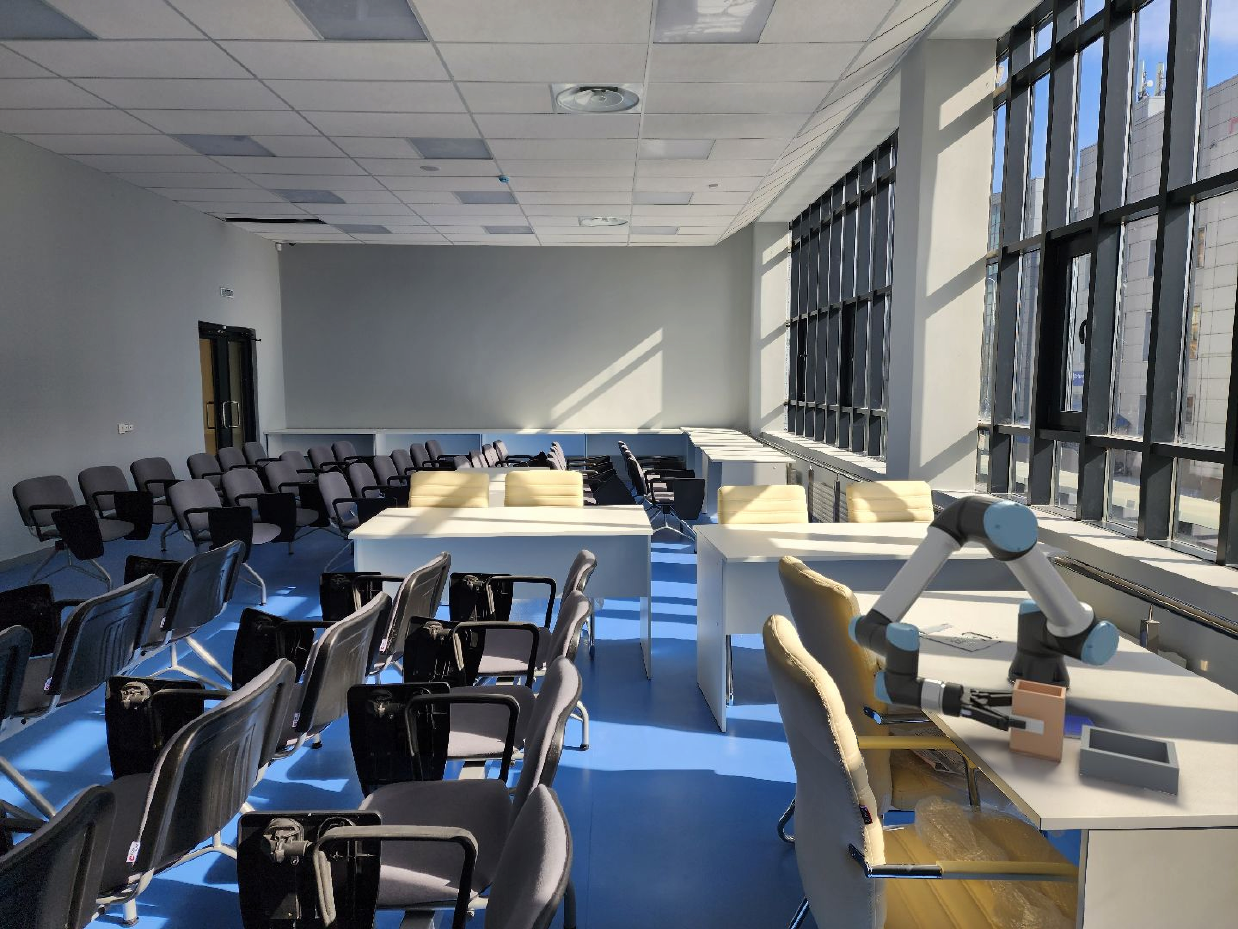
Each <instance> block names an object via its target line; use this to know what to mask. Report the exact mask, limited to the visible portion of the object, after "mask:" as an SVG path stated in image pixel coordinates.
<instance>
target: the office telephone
mask: <svg viewBox="0 0 1238 929" xmlns="http://www.w3.org/2000/svg"><path fill="white" fill-rule="evenodd" d="M952 627H954V625H952V624H951V623H941V624H937V625H932V626H929V627H923V628H920V629H919V628H918V629H919V632H920V633H923V634H926V635H928V634H930V633H933V632H940V631H942V630H945V629H948V628H952ZM973 637H974V638H978V637H977V636H973ZM998 637H999V636H996V638H998ZM952 638H957V637H951V638H950V639H951V640H950V641H951V642H955V643H957V644H961V643H963V642H966V641H969V640H966V639H965V641H964V640H959V639H962V637H961V638H959V639H954V640H952ZM967 638H968V637H967ZM945 640H949V639H945ZM975 641H976V640H975ZM968 643H971V644H973V643H974V644H978V643H975V642H973V643H972V642H968ZM968 643H965V644H968ZM969 646H970V645H969Z"/></svg>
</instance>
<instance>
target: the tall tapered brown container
mask: <svg viewBox="0 0 1238 929" xmlns="http://www.w3.org/2000/svg"><path fill="white" fill-rule="evenodd" d="M1012 691H1013V696H1012V706H1011V715H1016V716H1021V717H1026V718H1032V719H1037V720H1042V721H1044V731H1043V734H1039V733H1034V732H1029V731H1024V730H1019V729H1014V728H1010V735H1009V736H1010V737H1009V752H1012V753H1016V754H1021V755H1024V754H1026V756H1029V755H1030V757H1035V758H1039V759H1043V760H1048V761H1054V762H1059V763H1061V762H1062V758H1063V757H1062V756H1063V747H1064V736H1063V735H1064V719H1065V715H1066V703H1067V701H1066V700H1067V690H1066V688H1065V687H1059V686H1054V685H1048V684H1042V683H1036V682H1030V681H1024V680H1019V679H1016V682H1015V683H1014V684H1013V687H1012Z"/></svg>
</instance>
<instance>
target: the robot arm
mask: <svg viewBox="0 0 1238 929" xmlns="http://www.w3.org/2000/svg"><path fill="white" fill-rule="evenodd" d="M1038 526H1039V522H1038V519H1037V517H1036V515H1035V513H1034V511H1033V510H1031V509H1030V507H1028V506H1026V505H1025V504H1023V503H1019V502H1016V501H1014V500H1009V499H1008V500H1007V499H998V498H993V497H987V496H984V497H983V496H981V495H966V496H963V497H961V498H959V499H956V500H954V501H953V502H951V503H950V504H948V505H947V506H946V507H945V508H943V510H942V511H940V512H939V513H938V514H937V515H936V516H935V517H934V519H933V520H932V521H931V523H930V524H929V525H928V527H927V528H926V532H927V534H926V536H925V537H924V538H923V540H922V541H921V542H920V543H919V545H918V546H917V548H915V549H914V552H912V554H911V555H910V557H909V558H908V559H907V561H906V562H905V563H904V565H903V566H902V567H901V568H900V570H899V571H898V572H897V574H896V575H895V576H894V578H893V579H892V580H891V582H889V584H888V586H887V587H886V588H885V589H884V591H883V592H882V593H881V594H880V596H879V597H878V599H877V600H876V601H875V602H874V604H873V605H872V606H871V608H870V609H869V610H868V611H867V613H866V614H859V615H856V616H854V617H853V618H852V619H850V622H849V624H848V627H847V632H848V636H849V637H850V638H849V639H851V640H852V641H853V642H854V643H856V644H858V645H859V646H860V647H861V648H865V649H866V650H867V649H868V651H871V652H873V653H875V654H877V655H879V656H881V657H883V658H884V660H885V661H884V669H883V670H882V669H880V670H878V671H877V672H876V674H875V679H874V684H873V694H874V697H875V699H876V700H877V701H879V702H881V703H886V704H889V705H893V706H899V707H903V708H904V707H905V708H909V709H914V710H915V709H916V710H920V711H925V712H926V711H927V712H928V714H930V715H931V714H933V713H934V714H941V713H942V714H944V715H945V716H949V717H955V718H960V717H962V718H965V719H966V718H967V719H970V720H974V721H975V722H978V723H981V724H984V725H986V726H989V727H992V728H994V729H996V730H999V731H1002V732H1009V730H1010V729H1011V728H1014V729H1019V730H1024V731H1029V732H1034V733H1039V734H1043V731H1044V721H1042V720H1037V719H1032V718H1026V717H1021V716H1016V715H1011V714H1012V713H1011V714H1010V715H1007V714H1005V713H1004V712H1000V711H999V710H997V709H995V708H999V707H1001V708H1002V707H1012V696H1013V690H989V689H987V690H986V689H976V688H970V689H969V692H964V689H965V688H964V685H963V684H961V683H957V682H956V683H955V682H949V681H946V683H945V682H944V681H943V680H940V679H934V678H928V677H923V676H919V663H920V661H919V659H920V647H921V641H920V637H919V627H917V626H916V625H914V624H913V623H907V622H902V620H903V619H904V618H905V616H906V615H907V613H908V612H909V611H910V610H911V609H912V608H913V605H914V604H915V603H916V602H917V600H918V599H919V598H920V597H921V595H922V594H923V593H924V591H925V590H926V588H927V587H928V586H929V584H930V583H931V582H932V580H933V579H934V578H935V576H937V574H938V573H939V571H940V570H941V568H943V566H944V564H946V563H947V561H948V560H949V558H950V557H951V556H952V555H953V553H954V552H955V553H956V552H960V550H962V548H963V547H964V546H965V544H967V543H969V542H972V543H976V544H980V545H981V544H982V545H983V546H984V547H985V548H986V550H987V551H988V553H989V554H990V555H991V556H992V558H994V559H995V560H996V562H997V561H998V562H1000V563H1005V564H1006V565H1007V567H1008V568H1009V570H1010V571H1011V572H1012V574H1014V576H1015V577H1016V579H1017V580H1018V581H1019V583H1020V584H1021V585H1022V587H1023V588H1024V590H1025V591H1026V592H1027V593H1028V595H1029V596H1030V597H1031V598H1030V599H1029V598H1028V599H1025V600H1022V601H1021V602H1020V604H1019V605H1018V606H1019V608H1018V613H1017V631H1016V632H1017V635H1016V636H1017V637H1016V651H1015V652H1016V653H1015V654H1014V657H1013V658H1012V661H1011V664H1010V666H1009V669H1008V672H1007V673H1008V674H1007V678H1008V677H1009V679H1010V680H1011V681H1014V682H1016V679H1019V680H1024V681H1030V682H1036V683H1042V684H1048V685H1054V686H1059V687H1065V688H1066V689H1067V688H1068V687H1069V688H1070V687H1071V686H1070V684H1071V678H1070V675H1069V671H1068V668H1067V665H1066V661H1065V656H1066V657H1069V658H1071V659H1074V660H1077V661H1079V662H1082V663H1083V664H1086V665H1091V666H1097V667H1098V666H1102V665H1105V664H1107V663H1109V661H1111V659H1112V658H1113V657H1114V656H1115V655H1116V652H1117V650H1118V647H1119V643H1120V634H1119V630H1118V627H1117V626H1115V625H1114V623H1111V622H1110V621H1108V620H1102V619H1101V618H1100V617H1099V616H1098V615H1097V613H1096V612H1095V611H1094V609H1093V608H1092V607H1091V606H1090V605H1089V604H1088V603H1086V602H1083V601H1079V600H1078V598H1077V596H1076V595H1074V593H1073V592H1072V590H1071V589H1070V587H1069V586H1068V585H1067V584H1066V582H1065V581H1064V579H1063V578H1062V576H1061V575H1060V573H1059V572H1058V571H1057V570H1056V568H1055V567H1054V566H1053V564H1052V563H1051V561H1050V560H1049V559H1048V557H1047V556H1046V555H1045V554H1044V552H1043V551H1042V549H1041V548H1040V547H1039V546H1038V541H1039V529H1038V528H1037V527H1038ZM1009 679H1008V680H1009ZM1010 680H1009V681H1010ZM1011 681H1010V682H1011ZM1067 690H1068V689H1067Z"/></svg>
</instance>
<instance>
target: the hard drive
mask: <svg viewBox="0 0 1238 929" xmlns="http://www.w3.org/2000/svg"><path fill="white" fill-rule="evenodd" d="M1082 725H1087V726H1093V727H1096V725H1095V724H1094V723H1093V721H1092V720H1091V719H1090V718H1089V717H1085V716H1080V715H1079V716H1078V715H1069V714H1065V719H1064V735H1063V738H1069V737H1074V738H1073V739H1078V738H1080V739H1079V740H1081V736H1082ZM1065 736H1066V737H1065Z"/></svg>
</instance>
